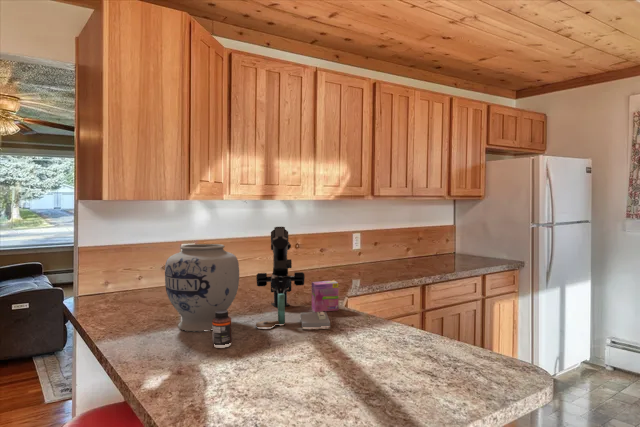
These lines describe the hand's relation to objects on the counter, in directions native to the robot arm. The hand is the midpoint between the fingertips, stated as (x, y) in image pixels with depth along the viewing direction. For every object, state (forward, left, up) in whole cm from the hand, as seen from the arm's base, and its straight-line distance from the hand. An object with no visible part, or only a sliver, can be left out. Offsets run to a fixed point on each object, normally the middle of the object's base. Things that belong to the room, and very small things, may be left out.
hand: (280, 297), depth 165 cm
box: (-8, +22, -9) cm, 26 cm away
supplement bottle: (+17, -27, -9) cm, 33 cm away
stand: (+9, +10, -9) cm, 16 cm away
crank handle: (+5, -6, -9) cm, 12 cm away
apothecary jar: (-9, -28, -9) cm, 30 cm away
